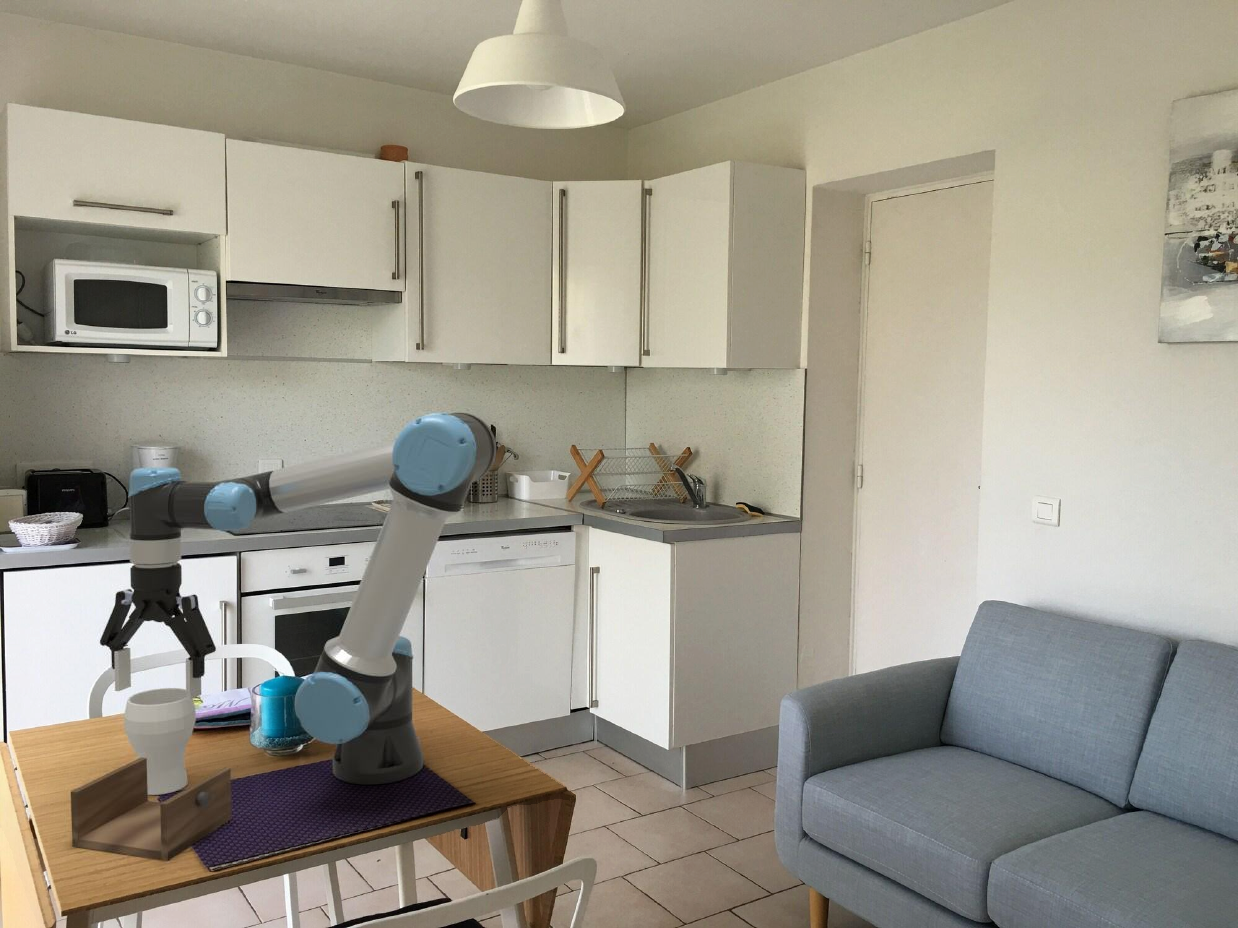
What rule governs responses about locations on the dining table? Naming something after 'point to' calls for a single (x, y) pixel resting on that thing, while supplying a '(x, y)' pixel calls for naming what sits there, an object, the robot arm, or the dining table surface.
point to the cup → (161, 735)
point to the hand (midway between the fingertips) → (158, 692)
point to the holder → (147, 813)
